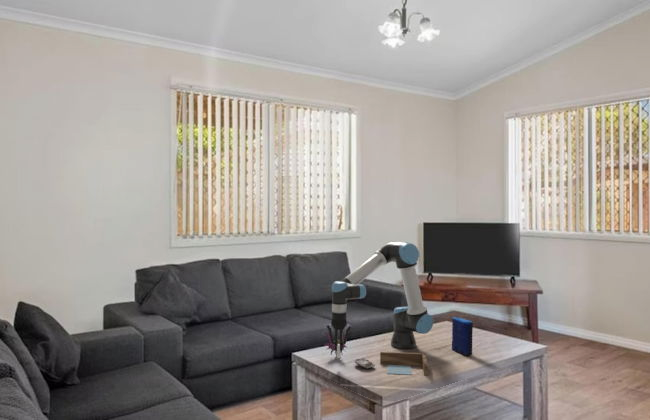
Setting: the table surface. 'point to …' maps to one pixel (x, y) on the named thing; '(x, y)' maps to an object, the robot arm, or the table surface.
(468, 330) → the book
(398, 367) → the mat
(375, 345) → the table surface
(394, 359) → the corner walls
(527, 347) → the table surface
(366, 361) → the stone
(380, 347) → the table surface
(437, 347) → the table surface
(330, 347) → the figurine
